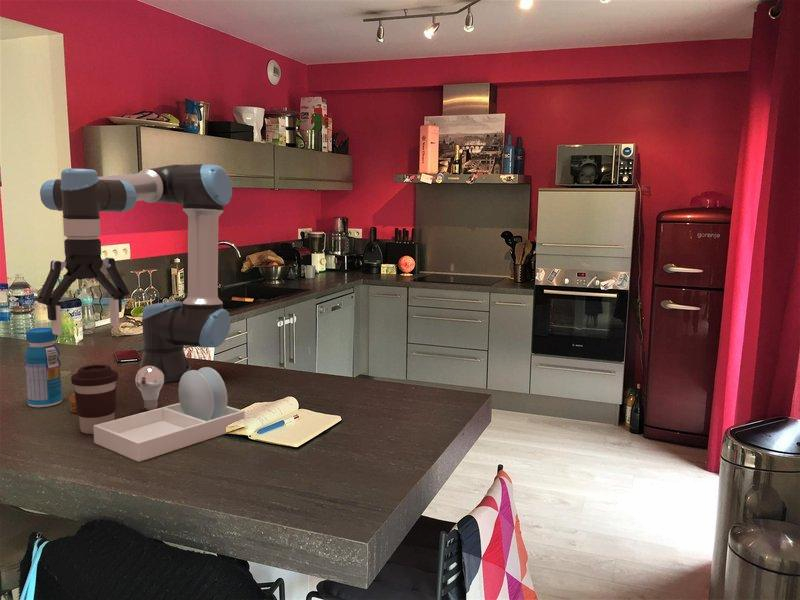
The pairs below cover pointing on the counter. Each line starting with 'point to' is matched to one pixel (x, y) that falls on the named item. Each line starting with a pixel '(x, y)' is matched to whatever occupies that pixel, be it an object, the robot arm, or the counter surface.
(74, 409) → the burger
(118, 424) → the white tray
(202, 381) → the plates
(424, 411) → the counter surface
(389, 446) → the counter surface
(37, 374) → the beverage bottle
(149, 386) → the light bulb
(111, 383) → the coffee cup
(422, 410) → the counter surface
